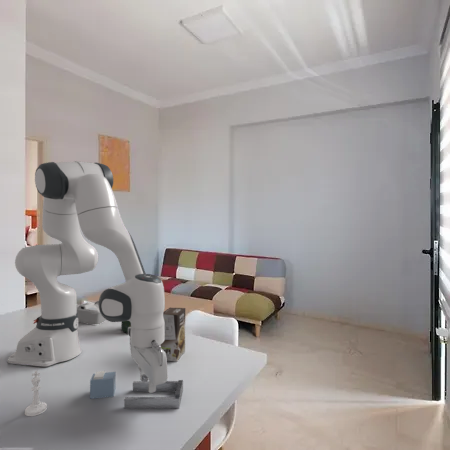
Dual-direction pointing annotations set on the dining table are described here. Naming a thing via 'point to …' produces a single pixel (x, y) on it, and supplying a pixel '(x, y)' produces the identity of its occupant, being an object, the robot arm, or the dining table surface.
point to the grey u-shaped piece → (155, 401)
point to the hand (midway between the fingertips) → (147, 386)
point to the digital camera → (89, 313)
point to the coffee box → (174, 333)
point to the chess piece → (36, 399)
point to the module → (102, 384)
